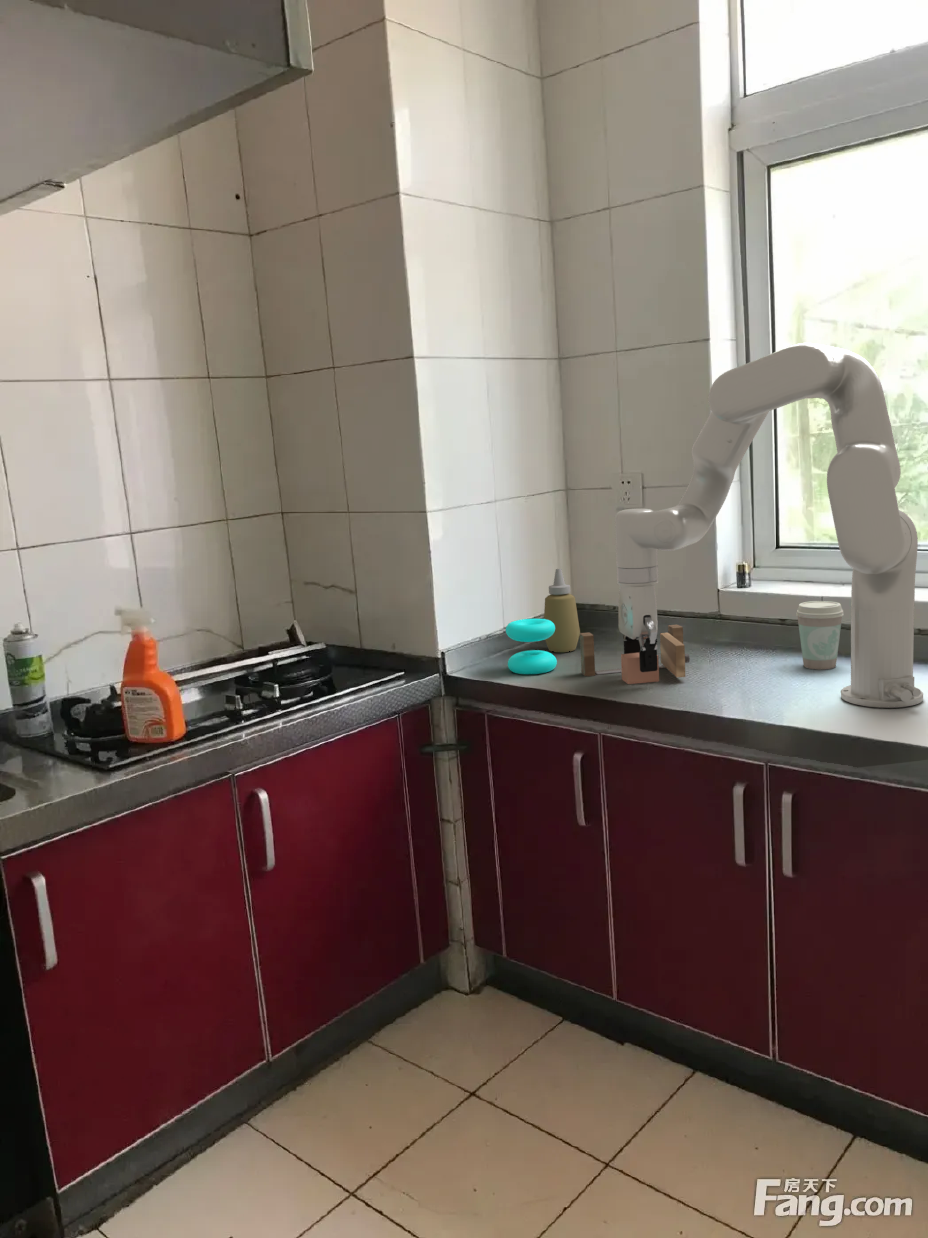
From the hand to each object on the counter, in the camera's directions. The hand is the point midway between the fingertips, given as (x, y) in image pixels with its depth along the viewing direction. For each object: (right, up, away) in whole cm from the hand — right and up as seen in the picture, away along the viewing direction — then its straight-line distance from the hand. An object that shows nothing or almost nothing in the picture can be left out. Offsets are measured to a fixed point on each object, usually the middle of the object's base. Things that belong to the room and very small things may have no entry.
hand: (640, 665), depth 188 cm
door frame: (-1, -1, +9) cm, 9 cm away
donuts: (-19, -2, +15) cm, 24 cm away
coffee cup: (+35, 0, +2) cm, 35 cm away
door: (+7, -1, +3) cm, 8 cm away
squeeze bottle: (-12, +2, +31) cm, 33 cm away
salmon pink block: (0, -3, +1) cm, 3 cm away
